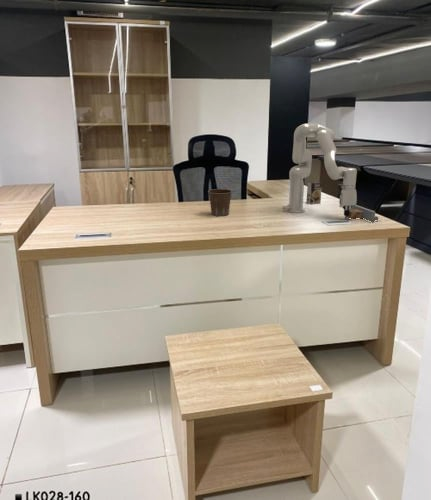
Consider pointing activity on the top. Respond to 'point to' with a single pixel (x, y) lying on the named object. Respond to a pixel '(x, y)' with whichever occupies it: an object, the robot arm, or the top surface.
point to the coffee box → (314, 193)
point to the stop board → (366, 213)
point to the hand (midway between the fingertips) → (346, 215)
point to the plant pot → (220, 201)
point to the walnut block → (355, 214)
